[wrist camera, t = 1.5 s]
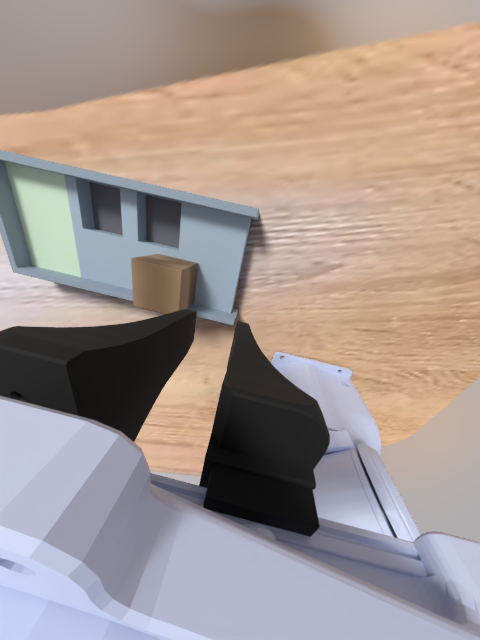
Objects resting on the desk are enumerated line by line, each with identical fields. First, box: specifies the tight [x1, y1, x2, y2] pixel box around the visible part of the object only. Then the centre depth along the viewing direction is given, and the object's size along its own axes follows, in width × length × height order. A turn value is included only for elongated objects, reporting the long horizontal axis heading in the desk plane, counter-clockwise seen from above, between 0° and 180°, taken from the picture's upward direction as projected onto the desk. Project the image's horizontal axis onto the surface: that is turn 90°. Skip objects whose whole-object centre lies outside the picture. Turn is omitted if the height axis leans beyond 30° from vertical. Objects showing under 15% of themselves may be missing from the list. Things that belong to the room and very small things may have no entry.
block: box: [131, 254, 198, 314], centre depth 17 cm, size 4×4×4 cm
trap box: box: [0, 150, 259, 325], centre depth 18 cm, size 23×10×3 cm, turn 78°
